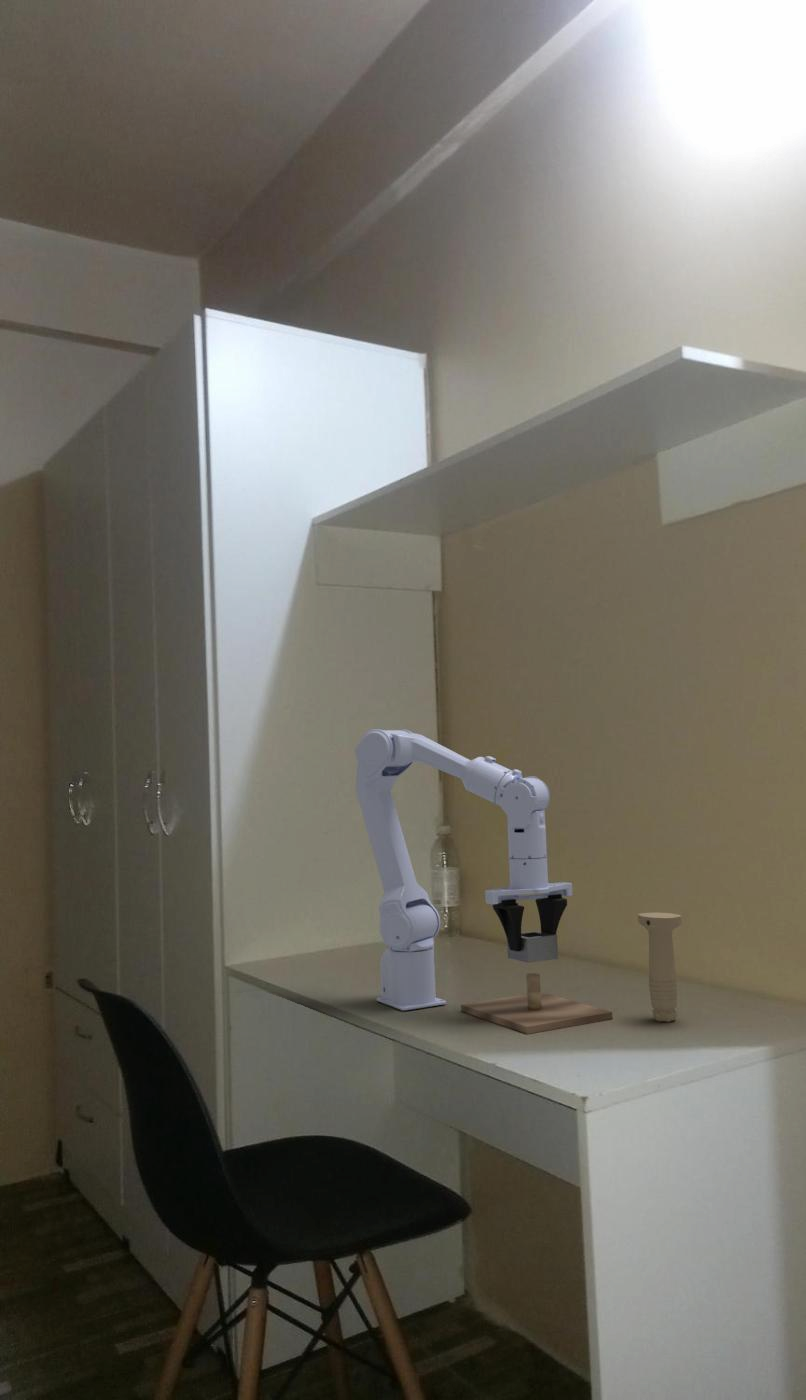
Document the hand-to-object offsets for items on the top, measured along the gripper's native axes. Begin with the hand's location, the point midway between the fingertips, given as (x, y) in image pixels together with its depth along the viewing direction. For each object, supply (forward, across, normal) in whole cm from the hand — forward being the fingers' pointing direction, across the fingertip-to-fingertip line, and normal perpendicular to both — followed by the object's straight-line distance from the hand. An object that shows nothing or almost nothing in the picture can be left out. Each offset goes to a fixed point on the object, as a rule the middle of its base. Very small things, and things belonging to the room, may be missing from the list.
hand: (531, 948), depth 168 cm
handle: (+10, +13, -14) cm, 22 cm away
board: (+10, 0, 0) cm, 10 cm away
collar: (+2, 0, 0) cm, 2 cm away
